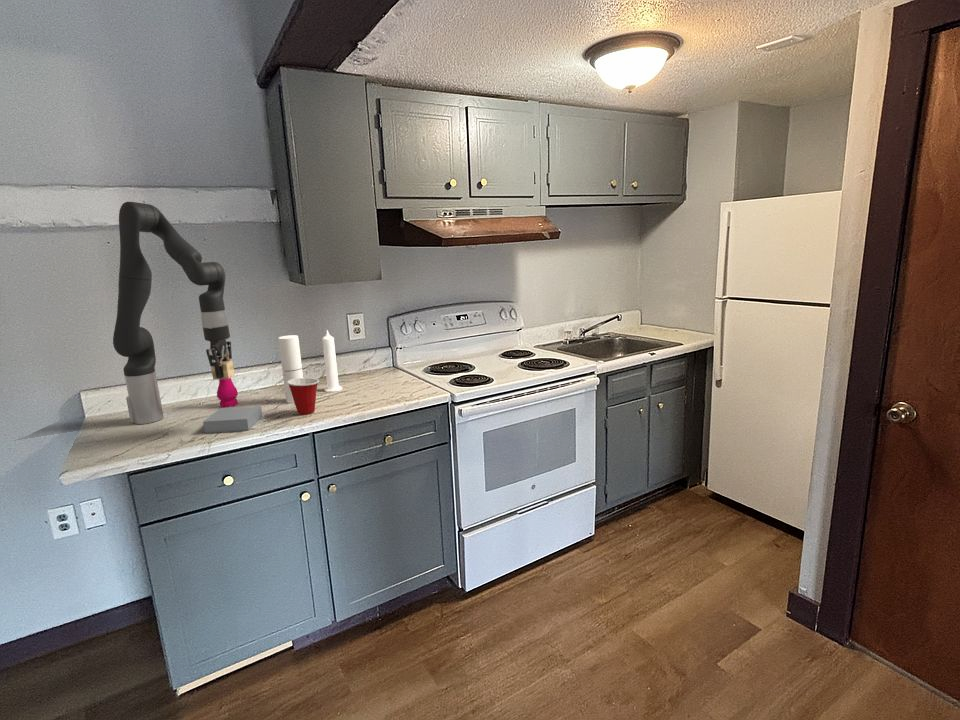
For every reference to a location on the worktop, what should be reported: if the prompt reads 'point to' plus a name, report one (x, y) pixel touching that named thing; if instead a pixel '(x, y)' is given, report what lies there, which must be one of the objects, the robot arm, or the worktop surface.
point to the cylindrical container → (290, 362)
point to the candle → (330, 364)
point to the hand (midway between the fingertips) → (223, 375)
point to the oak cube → (224, 370)
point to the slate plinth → (233, 419)
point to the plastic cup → (304, 394)
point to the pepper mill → (227, 393)
